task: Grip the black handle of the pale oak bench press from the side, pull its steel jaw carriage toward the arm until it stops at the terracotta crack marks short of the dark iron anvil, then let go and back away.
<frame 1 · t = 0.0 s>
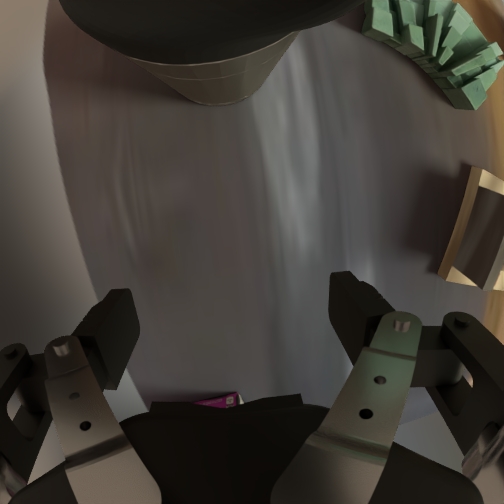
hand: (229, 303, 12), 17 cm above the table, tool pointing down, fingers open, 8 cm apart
candy bar box: (207, 407, 39), on the table
money: (438, 38, 22), on the table
press bench: (495, 235, 31), on the table
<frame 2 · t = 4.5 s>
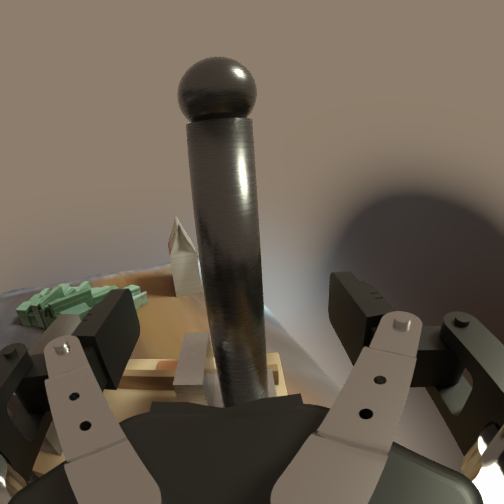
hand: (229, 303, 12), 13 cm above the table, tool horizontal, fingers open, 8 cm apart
money: (85, 315, 38), on the table
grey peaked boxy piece: (187, 286, 45), on the table
press bench: (170, 432, 19), on the table
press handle: (215, 275, 15), point 13 cm above the table, slide at 0.0 cm
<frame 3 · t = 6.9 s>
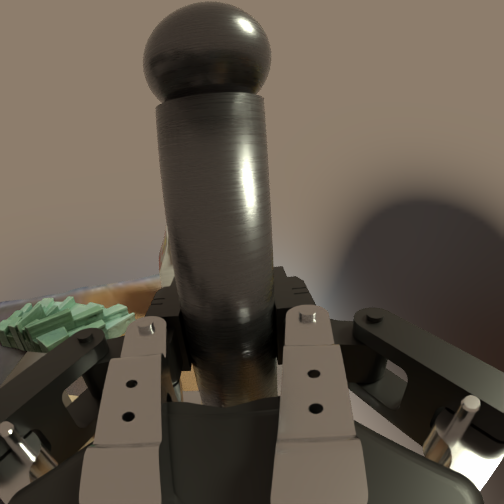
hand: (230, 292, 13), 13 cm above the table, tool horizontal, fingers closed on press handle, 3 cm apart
money: (68, 337, 32), on the table
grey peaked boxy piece: (180, 303, 40), on the table
press bench: (160, 491, 14), on the table
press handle: (208, 338, 10), point 13 cm above the table, slide at 0.0 cm, touching gripper
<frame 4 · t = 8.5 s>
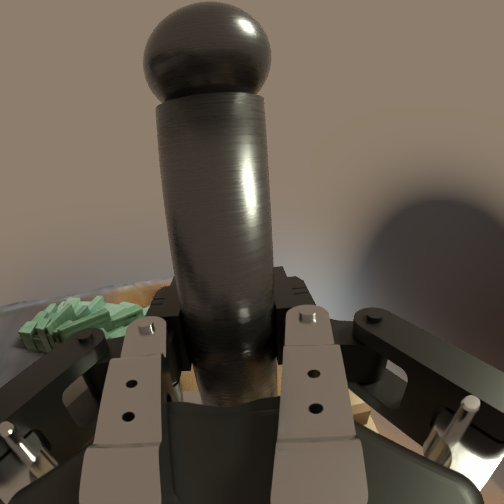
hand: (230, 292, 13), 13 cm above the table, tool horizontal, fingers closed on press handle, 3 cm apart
money: (100, 338, 32), on the table
press bench: (242, 493, 14), on the table
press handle: (208, 338, 10), point 13 cm above the table, slide at 5.3 cm, touching gripper
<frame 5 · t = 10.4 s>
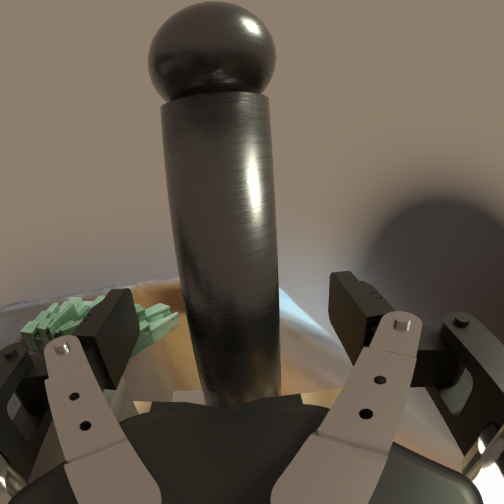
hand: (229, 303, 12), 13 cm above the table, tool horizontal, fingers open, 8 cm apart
money: (102, 338, 33), on the table
press bench: (245, 493, 14), on the table
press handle: (212, 337, 10), point 13 cm above the table, slide at 5.3 cm
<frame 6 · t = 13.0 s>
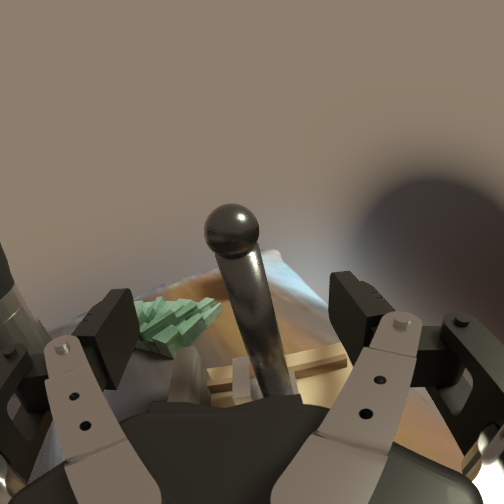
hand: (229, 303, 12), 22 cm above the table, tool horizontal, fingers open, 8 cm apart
money: (167, 330, 48), on the table
press bench: (277, 414, 29), on the table
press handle: (249, 333, 24), point 13 cm above the table, slide at 5.3 cm
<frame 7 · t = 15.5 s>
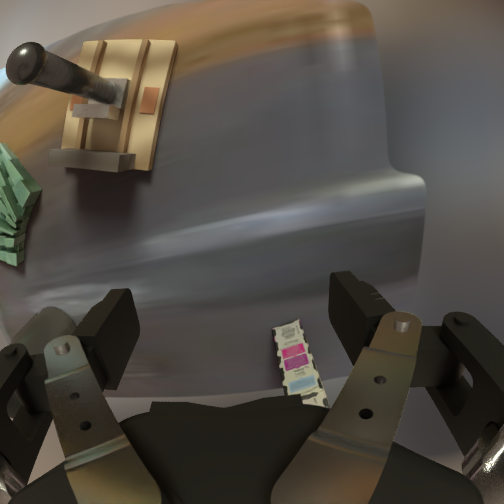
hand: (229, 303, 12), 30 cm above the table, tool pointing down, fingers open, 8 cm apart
candy bar box: (293, 347, 49), on the table
money: (10, 200, 38), on the table
press bench: (116, 101, 35), on the table
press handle: (73, 87, 23), point 13 cm above the table, slide at 5.3 cm
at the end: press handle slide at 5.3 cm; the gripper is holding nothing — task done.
